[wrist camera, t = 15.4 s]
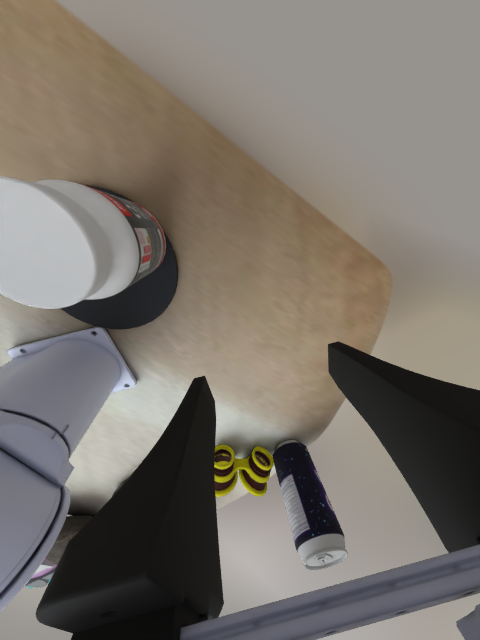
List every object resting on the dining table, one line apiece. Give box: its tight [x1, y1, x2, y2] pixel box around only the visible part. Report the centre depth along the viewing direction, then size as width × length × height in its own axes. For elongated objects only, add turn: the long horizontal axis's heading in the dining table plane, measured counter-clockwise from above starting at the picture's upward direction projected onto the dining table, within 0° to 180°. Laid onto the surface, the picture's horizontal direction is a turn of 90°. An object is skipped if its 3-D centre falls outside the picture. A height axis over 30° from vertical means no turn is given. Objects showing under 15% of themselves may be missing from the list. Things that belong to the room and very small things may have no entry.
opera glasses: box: [214, 445, 274, 497], centre depth 29 cm, size 10×5×5 cm, turn 75°
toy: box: [26, 559, 57, 588], centre depth 35 cm, size 20×4×15 cm
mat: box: [61, 185, 178, 329], centre depth 17 cm, size 12×12×1 cm
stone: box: [45, 515, 93, 565], centre depth 30 cm, size 11×11×5 cm
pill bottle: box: [0, 176, 166, 309], centre depth 12 cm, size 6×6×10 cm
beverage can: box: [273, 440, 348, 570], centre depth 26 cm, size 6×6×12 cm
